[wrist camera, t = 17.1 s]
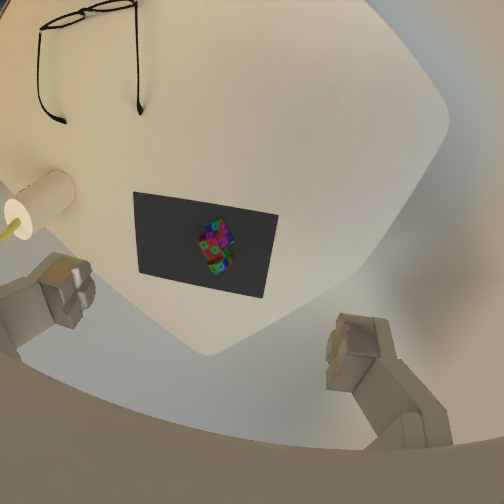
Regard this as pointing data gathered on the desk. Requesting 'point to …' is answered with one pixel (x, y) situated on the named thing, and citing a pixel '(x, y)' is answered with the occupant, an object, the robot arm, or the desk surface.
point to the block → (217, 245)
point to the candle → (38, 205)
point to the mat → (188, 251)
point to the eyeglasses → (81, 11)
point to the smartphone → (3, 5)
